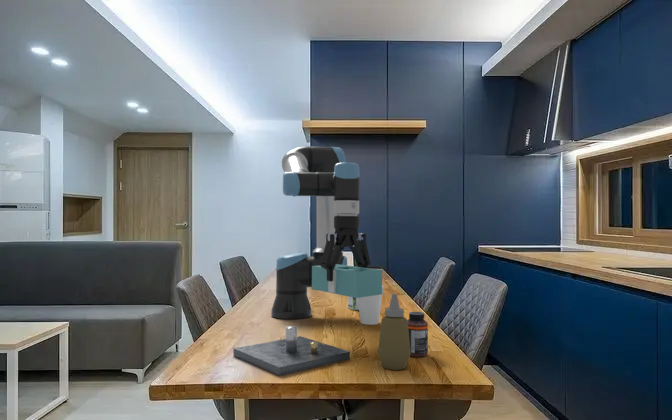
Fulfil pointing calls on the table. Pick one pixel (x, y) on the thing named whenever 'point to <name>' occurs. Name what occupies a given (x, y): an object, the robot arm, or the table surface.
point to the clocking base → (290, 354)
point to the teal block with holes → (349, 280)
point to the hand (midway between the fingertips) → (346, 290)
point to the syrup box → (353, 303)
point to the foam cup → (370, 309)
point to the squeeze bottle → (394, 337)
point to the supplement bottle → (418, 334)
